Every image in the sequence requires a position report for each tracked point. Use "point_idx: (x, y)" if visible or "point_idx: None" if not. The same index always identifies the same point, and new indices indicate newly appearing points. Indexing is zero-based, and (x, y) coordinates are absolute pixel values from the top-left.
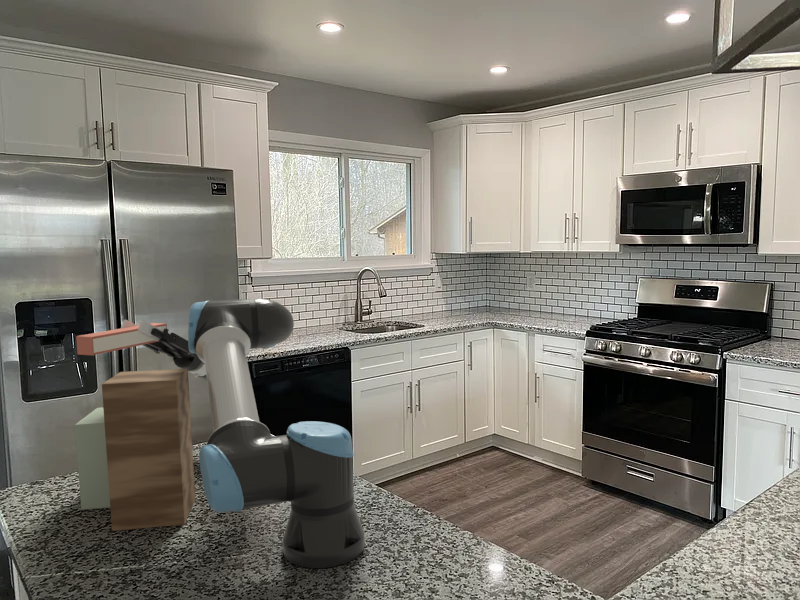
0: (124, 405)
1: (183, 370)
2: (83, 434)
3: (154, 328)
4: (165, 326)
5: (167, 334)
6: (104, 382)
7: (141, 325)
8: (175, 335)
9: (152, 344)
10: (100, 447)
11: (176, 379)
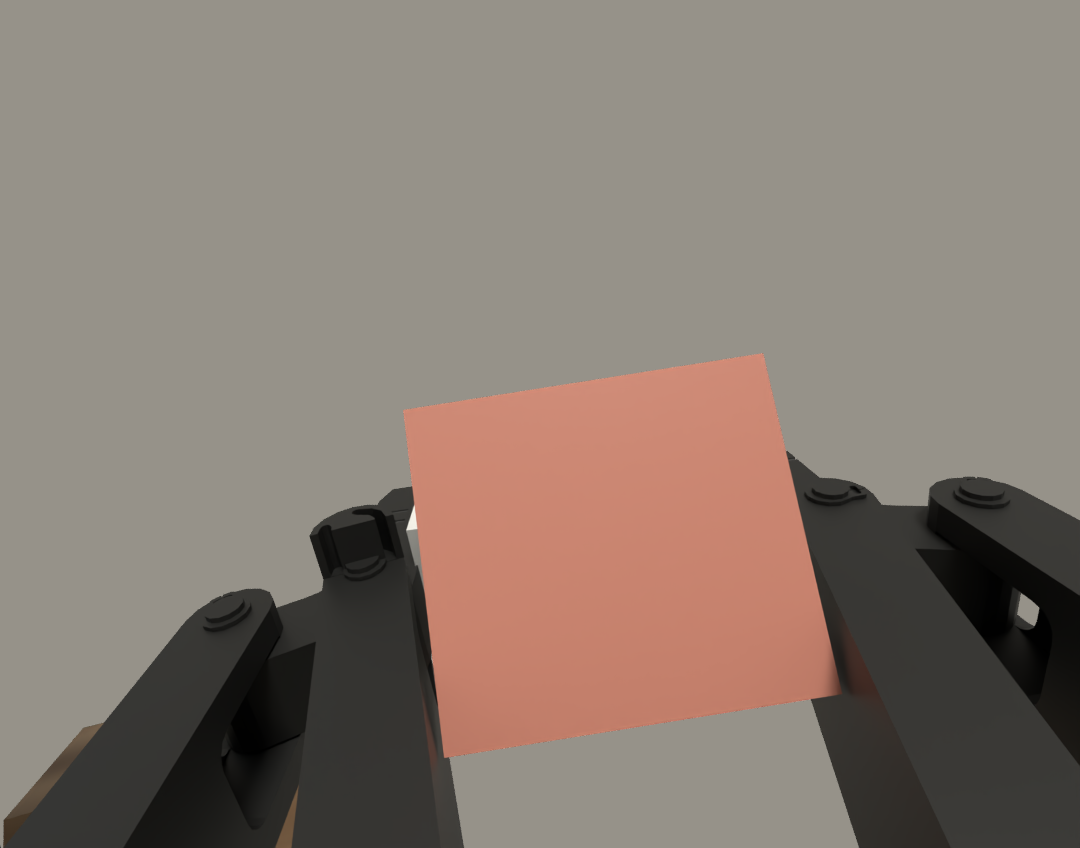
0: None
1: (43, 789)
2: None
3: (408, 488)
4: (418, 468)
5: (312, 602)
6: None
7: None
8: (182, 659)
9: (851, 809)
10: None
11: (81, 730)
